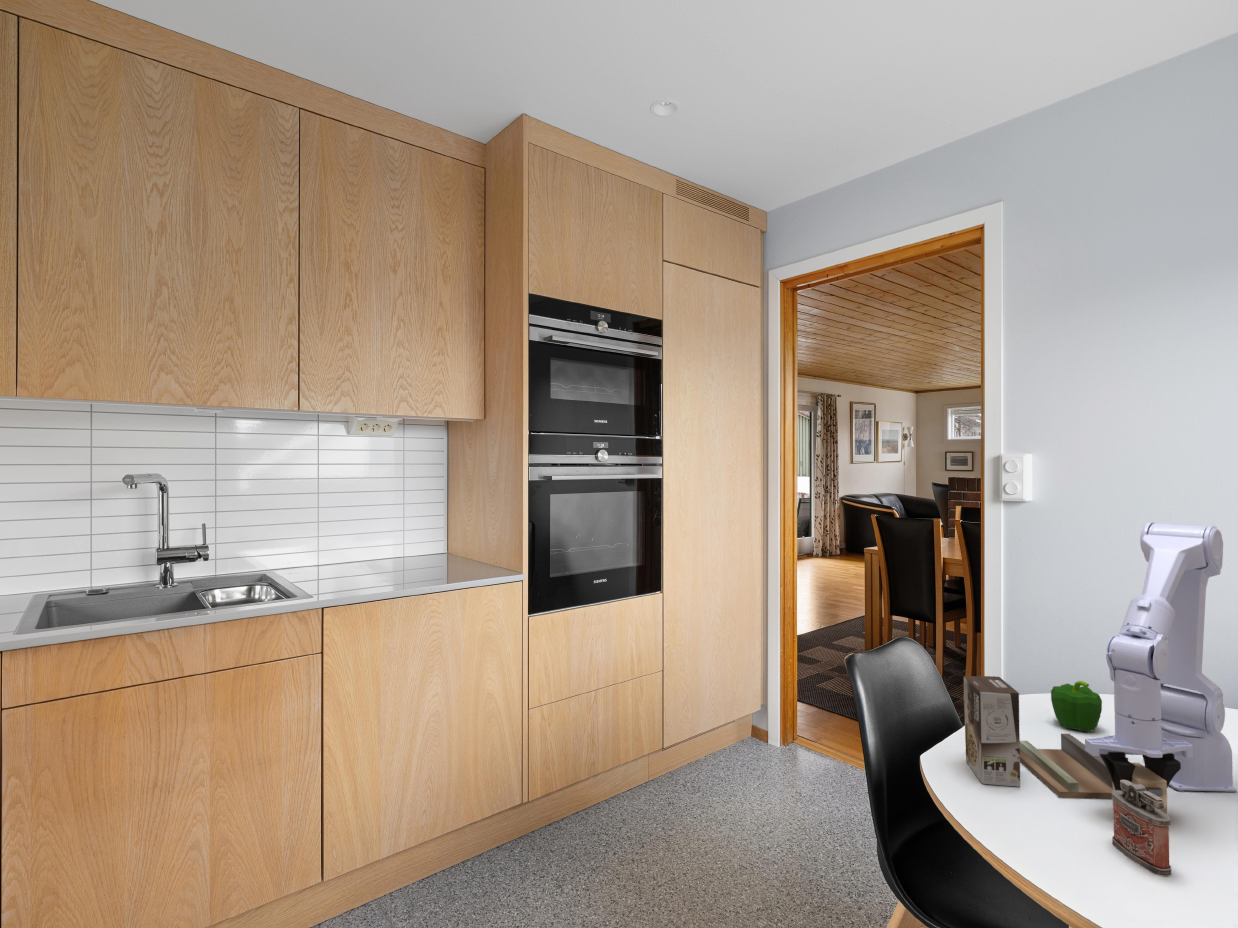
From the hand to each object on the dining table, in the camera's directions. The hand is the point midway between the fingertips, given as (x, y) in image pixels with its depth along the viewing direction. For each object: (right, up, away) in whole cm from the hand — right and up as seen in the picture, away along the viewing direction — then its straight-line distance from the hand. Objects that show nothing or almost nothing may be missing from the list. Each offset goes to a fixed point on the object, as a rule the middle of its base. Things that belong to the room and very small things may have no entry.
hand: (1139, 800), depth 101 cm
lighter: (-8, -3, -10) cm, 13 cm away
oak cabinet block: (0, -2, 0) cm, 2 cm away
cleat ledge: (-2, -2, +13) cm, 14 cm away
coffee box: (-15, -3, +14) cm, 21 cm away
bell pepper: (+13, -2, +33) cm, 36 cm away
